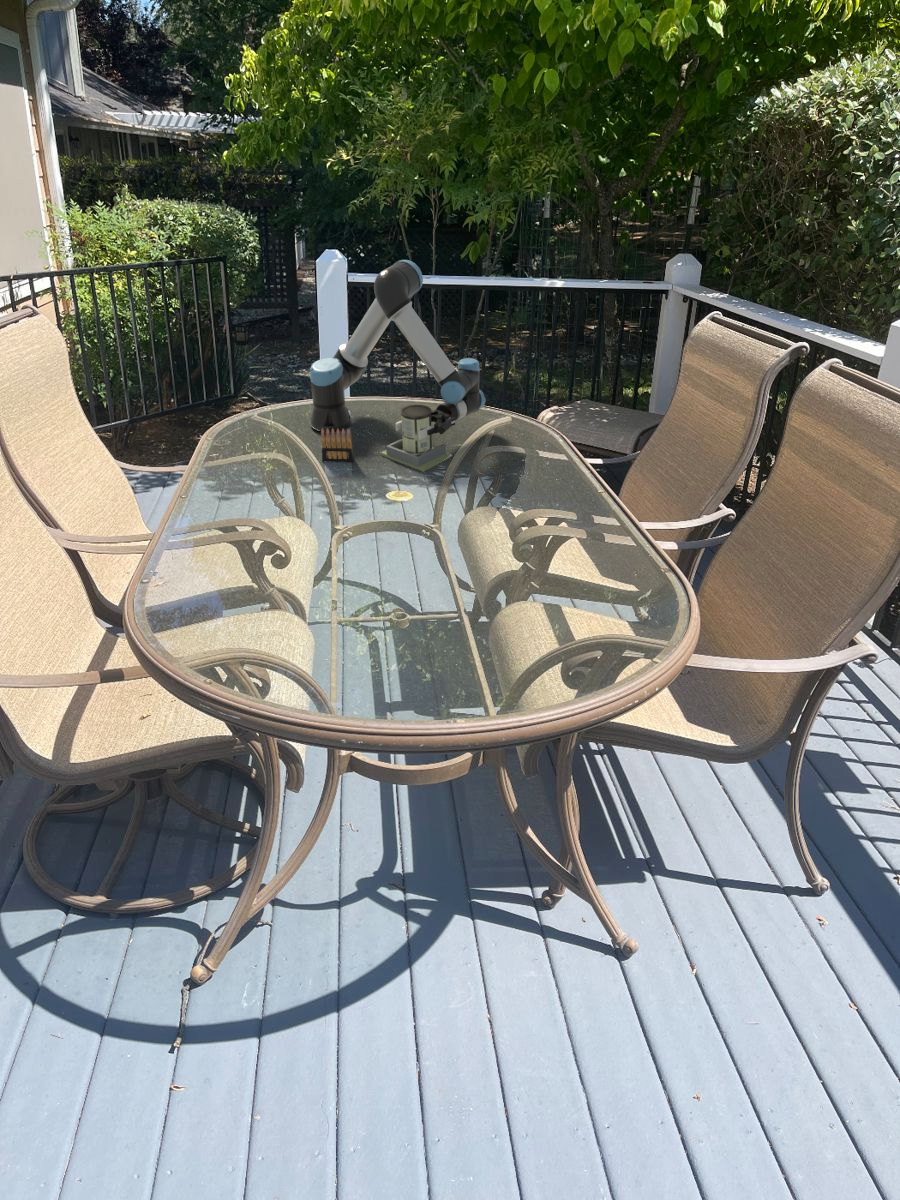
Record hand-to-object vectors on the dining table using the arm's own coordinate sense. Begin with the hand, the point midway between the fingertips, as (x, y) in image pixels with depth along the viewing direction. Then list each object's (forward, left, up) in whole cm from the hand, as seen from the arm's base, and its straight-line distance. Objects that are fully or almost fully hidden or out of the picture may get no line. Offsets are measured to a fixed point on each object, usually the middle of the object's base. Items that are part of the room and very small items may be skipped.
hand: (407, 431), depth 296 cm
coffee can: (0, +4, -8) cm, 9 cm away
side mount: (0, +4, -10) cm, 11 cm away
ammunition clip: (-18, -16, -11) cm, 26 cm away
